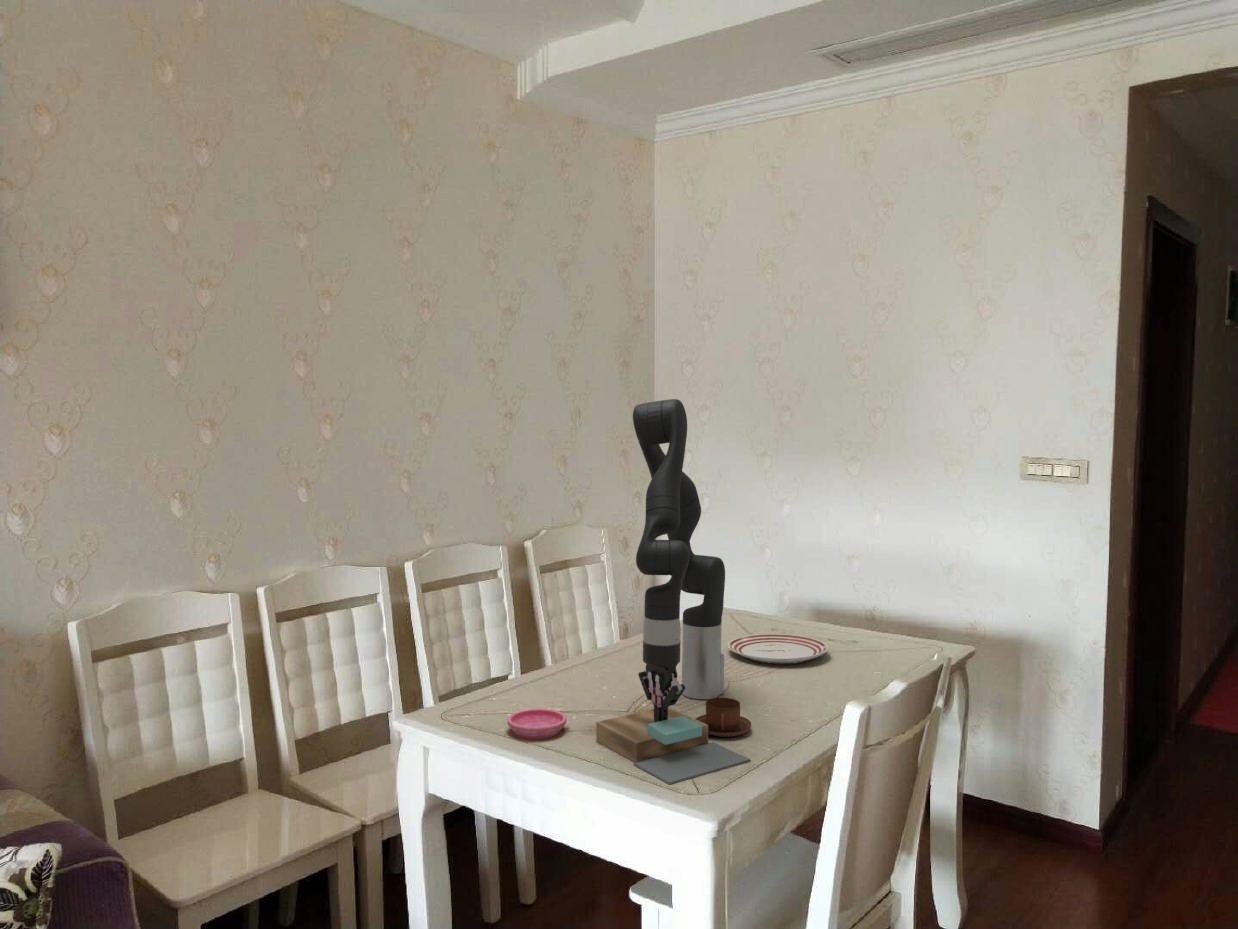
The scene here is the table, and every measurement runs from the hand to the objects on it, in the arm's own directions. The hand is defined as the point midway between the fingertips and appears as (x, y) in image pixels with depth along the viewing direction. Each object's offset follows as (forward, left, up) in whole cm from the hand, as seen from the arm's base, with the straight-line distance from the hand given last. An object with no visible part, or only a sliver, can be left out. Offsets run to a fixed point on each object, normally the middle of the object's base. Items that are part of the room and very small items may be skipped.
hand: (660, 723), depth 188 cm
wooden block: (0, -3, -5) cm, 6 cm away
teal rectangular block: (0, +4, -1) cm, 4 cm away
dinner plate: (-69, -37, -5) cm, 79 cm away
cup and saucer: (-17, 0, -5) cm, 18 cm away
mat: (0, +10, -5) cm, 11 cm away
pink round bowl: (+16, -22, -5) cm, 28 cm away
